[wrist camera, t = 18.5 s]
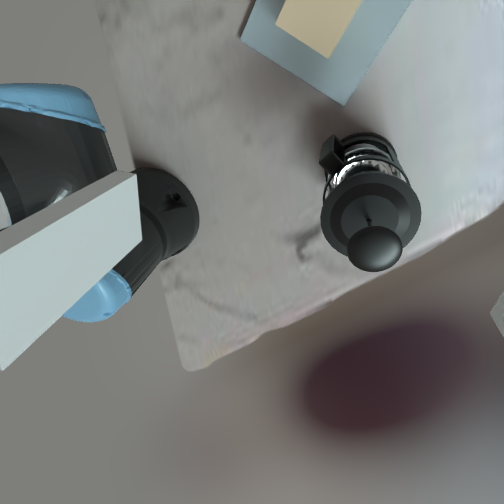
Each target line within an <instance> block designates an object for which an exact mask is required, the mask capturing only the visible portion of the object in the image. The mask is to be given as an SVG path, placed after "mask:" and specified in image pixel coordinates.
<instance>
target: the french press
mask: <svg viewBox="0 0 504 504" xmlns="http://www.w3.org/2000/svg"><path fill="white" fill-rule="evenodd" d="M361 143H366V144H371V145H374V146H376V147H378V148H379V149H380V150H378V149H375V148H359V149H355V150H352V151H350V152H348V153H346V154H345V150H346V149H347V148H349V147H350V146H352V145H356V144H361ZM319 164H320V165H321V166H322V167H323V168H324V169H325V176H326V185H325V188H324V194H323V207H322V211H321V217H320V218H321V228H322V231H323V234H324V236H325V238H326V240H327V241H328V242H329V244H330V245H331V246H332V247H333V248H334V249H336V250H337V251H338V252H340V253H341V254H343V255H345V256H348V258H349V260H350V261H351V263H352V264H353V265H354V266H356V267H357V268H359V269H361V270H364V271H368V272H379V271H383V270H386V269H388V268H390V267H392V266H393V265H394V264H395V263H396V262H397V261H398V260H399V258H400V257H401V254H402V249H403V248H404V247H405V246H406V245H407V244H408V243H409V242H410V241H411V240H412V239H413V237H414V236H415V234H416V232H417V231H418V228H419V225H420V222H421V206H420V202H419V200H418V197H417V195H416V193H415V192H414V191H413V189H412V188H411V186H410V183H409V181H408V178H407V176H406V174H405V172H404V171H403V169H402V167H401V165H400V163H399V161H398V159H397V155H396V152H395V150H394V148H393V147H392V145H391V144H390V143H389V142H388V141H387V140H386V139H385V138H383V137H381V136H380V135H377V134H374V133H367V132H362V133H355V134H352V135H349V136H347V137H345V138H343V139H342V140H341V141H340V140H339V139H338V138H337V137H336V136H335V135H334V134H333V135H332V136H331V137H330V138H329V139H327V140H326V141H325V142H324V143H323V145H322V150H321V155H320V160H319ZM400 172H401V173H402V175H403V176H404V177H405V180H406V182H407V183H406V182H405V181H403V180H401V175H400ZM326 190H328V194H329V195H328V196H327V198H326V199H325V193H326Z"/></svg>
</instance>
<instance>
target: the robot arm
mask: <svg viewBox="0 0 504 504" xmlns="http://www.w3.org/2000/svg"><path fill="white" fill-rule="evenodd" d="M105 132H106V131H105V128H104V126H102V125H101V122H100V120H99V118H98V115H97V112H96V110H95V107H94V104H93V102H92V100H91V98H90V97H89V96H88V94H87V93H85V92H84V91H83V90H81V89H79V88H77V87H74V86H69V85H61V84H38V83H36V84H35V83H13V84H0V370H2V371H3V370H4V369H6V368H7V367H8V366H9V365H10V364H11V363H12V362H13V361H14V360H15V359H16V358H17V357H18V356H19V355H20V354H22V352H24V351H25V350H26V349H27V348H28V347H29V346H30V345H31V344H32V343H33V342H34V341H35V340H36V339H37V338H38V337H40V335H42V334H43V333H44V332H45V331H46V330H47V329H48V328H49V327H50V326H51V325H52V324H53V323H54V322H56V321H57V319H59V318H60V317H61V316H63V317H66V318H69V319H72V320H76V321H81V322H97V321H101V320H105V319H107V318H109V317H110V316H112V315H113V314H114V313H115V312H116V311H117V310H118V309H119V308H120V307H121V306H122V305H124V304H125V303H127V302H128V301H129V299H130V298H131V297H132V295H133V294H134V293H135V292H136V291H137V289H138V288H139V287H140V286H141V284H142V283H143V282H144V281H145V280H146V278H147V277H148V276H149V275H150V274H151V272H152V271H153V270H154V269H155V268H156V266H157V265H158V264H159V263H160V262H161V261H162V260H165V259H167V258H169V257H171V256H174V255H176V254H178V253H180V252H182V251H183V250H184V249H186V248H187V247H188V245H189V244H190V243H191V242H192V240H193V239H194V238H195V236H196V234H197V231H198V228H199V212H198V208H197V205H196V202H195V200H194V198H193V196H192V195H191V193H190V192H189V190H188V189H187V188H186V187H185V186H184V185H183V184H182V183H181V182H180V181H179V180H178V179H176V178H175V177H174V176H172V175H170V174H168V173H166V172H164V171H161V170H158V169H153V168H141V169H137V170H134V171H132V172H130V173H128V172H123V171H117V168H116V165H115V163H114V159H113V156H112V153H111V151H110V147H109V144H108V141H107V138H106V136H105ZM490 315H491V316H492V318H493V320H494V322H495V323H496V325H497V327H498V328H499V330H500V332H501V334H502V335H503V337H504V291H503V293H502V294H501V296H500V297H499V299H498V301H497V302H496V304H495V305H494V307H493V308H492V310H491V312H490Z"/></svg>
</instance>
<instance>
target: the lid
mask: <svg viewBox="0 0 504 504" xmlns="http://www.w3.org/2000/svg"><path fill="white" fill-rule="evenodd" d="M411 2H412V0H256V2H255V5H254V7H253V10H252V12H251V14H250V17H249V19H248V21H247V24H246V26H245V29H244V31H243V33H242V36H241V38H240V40H241V41H242V42H244V43H245V44H247V45H249V46H250V47H252V48H253V49H255V50H256V51H258V52H260V53H261V54H263V55H264V56H266V57H267V58H269V59H271V60H272V61H274V62H275V63H277V64H278V65H280V66H281V67H283V68H285V69H286V70H288V71H289V72H291V73H292V74H294V75H296V76H297V77H299V78H300V79H302V80H303V81H305V82H307V83H308V84H310V85H311V86H313V87H314V88H316V89H318V90H319V91H321V92H322V93H324V94H325V95H327V96H329V97H330V98H332V99H333V100H335V101H336V102H338V103H339V104H341V105H343V106H345V104H346V103H347V101H348V99H349V98H350V96H351V95H352V93H353V92H354V90H355V89H356V87H357V86H358V84H359V82H360V81H361V79H362V78H363V76H364V75H365V73H366V72H367V70H368V69H369V67H370V65H371V64H372V62H373V61H374V59H375V58H376V56H377V55H378V53H379V51H380V50H381V48H382V47H383V45H384V44H385V42H386V41H387V39H388V38H389V36H390V34H391V33H392V31H393V30H394V28H395V27H396V25H397V24H398V22H399V21H400V19H401V17H402V16H403V14H404V13H405V11H406V10H407V8H408V7H409V5H410V3H411Z"/></svg>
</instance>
